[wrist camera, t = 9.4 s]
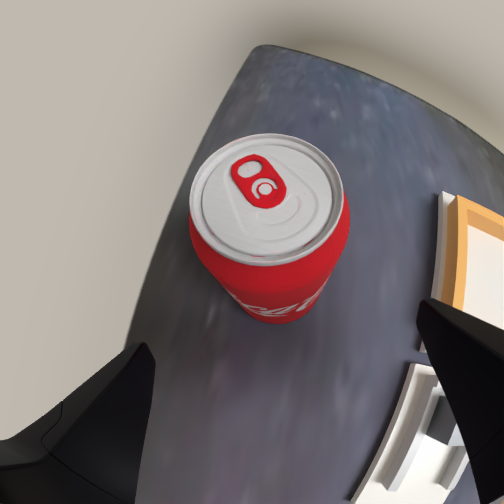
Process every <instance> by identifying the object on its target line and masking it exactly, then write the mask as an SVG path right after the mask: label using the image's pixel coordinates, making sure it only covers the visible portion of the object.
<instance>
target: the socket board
mask: <svg viewBox="0 0 504 504" xmlns="http://www.w3.org/2000/svg"><path fill="white" fill-rule="evenodd" d="M431 298H434V299H436V300H439V301H441V302H443V303H445V304H448V305H450V306H452V307H454V308H457V309H459V310H461V311H463V312H466V313H468V314H470V315H472V316H474V317H477V318H479V319H481V320H483V321H485V322H488V323H490V324H492V325H494V326H496V327H498V328H501V329H503V330H504V217H502V216H500V215H498V214H496V213H494V212H493V211H491V210H489V209H487V208H485V207H483V206H481V205H479V204H476V203H474V202H472V201H470V200H468V199H466V198H464V197H461V196H459V195H457V196H456V197H455V196H453V195H450V194H448V193H446V192H443V191H442V193H441V194H440V195H439V197H438V233H437V248H436V260H435V269H434V278H433V285H432V292H431ZM419 352H422V353H426V354H427V352H426V349H425V346H424V344H423V341H422V343H421V347H420V351H419Z"/></svg>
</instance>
